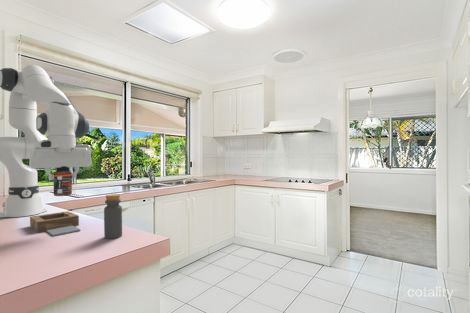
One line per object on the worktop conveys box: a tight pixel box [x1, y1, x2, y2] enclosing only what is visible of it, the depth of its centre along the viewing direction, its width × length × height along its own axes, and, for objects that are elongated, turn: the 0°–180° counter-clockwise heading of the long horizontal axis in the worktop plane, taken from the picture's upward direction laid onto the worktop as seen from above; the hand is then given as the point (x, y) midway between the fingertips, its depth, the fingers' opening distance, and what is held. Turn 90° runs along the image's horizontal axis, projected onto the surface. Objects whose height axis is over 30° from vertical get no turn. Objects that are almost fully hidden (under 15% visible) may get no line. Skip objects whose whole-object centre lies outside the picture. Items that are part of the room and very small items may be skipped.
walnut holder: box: [29, 210, 80, 234], centre depth 110 cm, size 14×14×4 cm
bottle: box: [103, 193, 123, 240], centre depth 95 cm, size 6×6×15 cm
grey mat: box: [46, 226, 81, 237], centre depth 102 cm, size 9×9×1 cm
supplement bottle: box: [53, 166, 73, 197], centre depth 102 cm, size 6×6×11 cm
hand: (62, 179), depth 102 cm, fingers closed on supplement bottle, 6 cm apart
